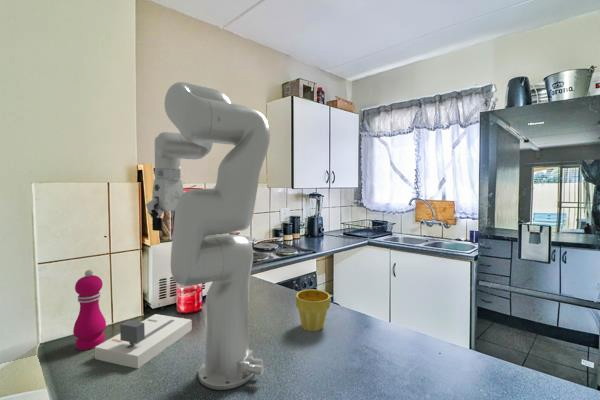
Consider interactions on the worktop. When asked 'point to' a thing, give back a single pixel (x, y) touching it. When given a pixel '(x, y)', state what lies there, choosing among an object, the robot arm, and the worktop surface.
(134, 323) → the fader cap
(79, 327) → the pepper mill
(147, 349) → the slotted white slab
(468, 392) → the worktop surface
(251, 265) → the robot arm
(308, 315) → the plant pot
